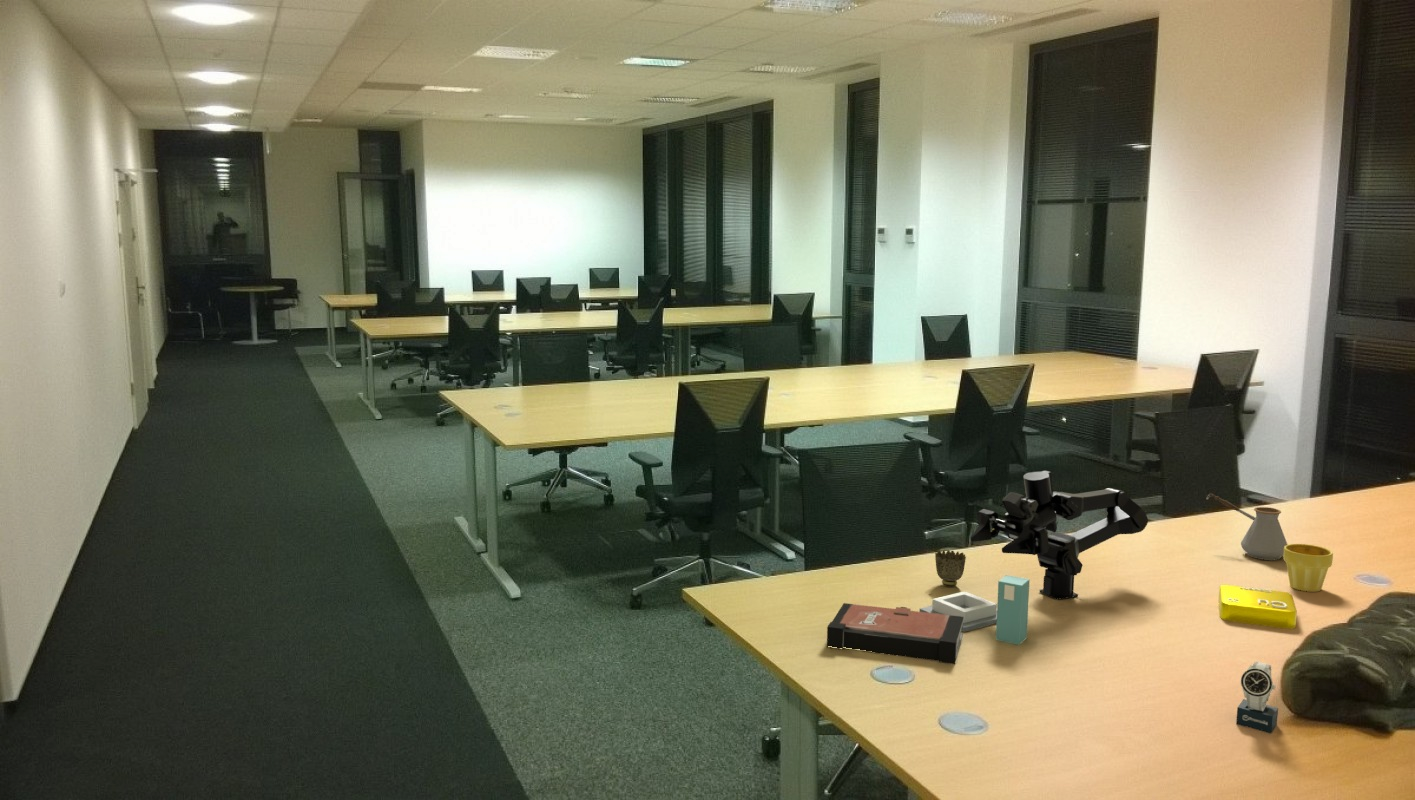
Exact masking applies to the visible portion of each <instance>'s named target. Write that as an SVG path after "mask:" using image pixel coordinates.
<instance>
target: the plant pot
mask: <svg viewBox="0 0 1415 800" xmlns="http://www.w3.org/2000/svg"><path fill="white" fill-rule="evenodd" d="M1333 559H1334V553H1333V551H1332V550H1331V549H1330V548H1327V547H1323V546H1319V545H1314V544H1308V543H1290V544H1288V545H1286V546H1285V547H1284V556H1283V561H1284V562H1285V563H1286V568H1287V569H1286V570H1287V575H1288V580H1289V586H1290V587H1291V588H1292V589H1293V590H1296V591H1300V590H1301V592H1306V591H1307V592H1308V593H1313V592H1314V593H1315V592H1317V593H1318V592H1319V591H1321V590H1322V588H1323V585H1324V584H1325V583H1324V582H1325V579H1326V576H1327V573H1328V571H1329V568H1331V567H1332V566H1333ZM1307 592H1306V593H1307Z"/></svg>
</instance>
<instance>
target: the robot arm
mask: <svg viewBox="0 0 1415 800" xmlns="http://www.w3.org/2000/svg"><path fill="white" fill-rule="evenodd" d="M1052 477H1053V476H1052V472H1051V471H1049V470H1042V471H1032V472H1026V473H1025V474H1024V475H1023V484H1024V489H1025V495H1023V494H1020V493H1017V492H1013V491H1010V492H1008V494H1007V495H1005V497H1004V498H1003V499H1002V500H1001V504H1002V505H1003V506H1004V508H1005V510H1006V513H1004V514H1003V515H1004V519H1005V520H1001V519H999V515H998V513H997V512H995V511H993V510H988V509H986V508H982V509H980V510H978V512H977V513H976V515H977V525H978V527H977V528H976V529H975V531H974V532H973V534H971V536H970V542H973V543H977V542H984V541H991V540H993V538H996V537H998V535H999V533H1000V532H1003V533H1006V534H1007V538H1008V539H1010V540H1011V541H1010V542H1009V543H1007V544H1005V545H1004V546H1003V547H1002V548H1001V553H1003V554H1016V555H1017V554H1018V555H1019V554H1021V555H1032V556H1035V555H1036V557H1037V560H1038V564H1039V567H1041V568H1045V570H1044V576H1043V586H1042V588H1041V589H1039V593H1041V594H1044V595H1046V596H1048V597H1049V598H1052V599H1055V600H1058V601H1059V600H1066V599H1070V598H1071V599H1072V598H1076V597H1078V596H1079V594H1078V593H1076V592H1075V591H1074V590H1075V589H1074V587H1075V576H1078V574H1080V573H1081V572H1082V568H1083V567H1084V566H1083V563H1082V561H1080V559H1079V556H1080V554H1082V553H1083V552H1085V551H1087V550H1089V549H1091V548H1093V547H1095V546H1097V545H1099V544H1101V543H1104V542H1106V541H1108V540H1110V539H1112V538H1114V537H1117V536H1118V535H1133V534H1138V533H1142V531H1144V530H1145V529H1146V527H1147V525H1148V523H1149V518H1148V516H1147V513H1146V511H1145V510H1144V509H1142V508H1141V506H1140V505H1139V504H1138V503H1136V502H1135V501H1133V499H1131V498H1130V497H1129V496H1128V494H1127V492H1125V491H1123V490H1121V489H1116V488H1112V487H1108V488H1107V487H1106V488H1105V489H1101V490H1100V489H1099V490H1093V491H1085V492H1079V493H1069V492H1063V491H1054V487H1053V482H1052V481H1053V480H1052ZM1103 509H1104V511H1105V512H1106V516H1105V518H1103V519H1101V520H1099V521H1096V522H1094V523H1092V524H1090V525H1088V526H1086V527H1084V528H1082V529H1079V530H1077V531H1075V532H1073V533H1071V534H1067V533H1063V532H1059V531H1057V530H1058V523H1059V522H1058V519H1057V518H1060V519H1063V520H1067V521H1072V520H1075V519H1077V518H1080V517H1081V516H1082V515H1083V513H1086V512H1089V511H1095V510H1103ZM1049 532H1052V533H1050V534H1049V535H1048V533H1049Z"/></svg>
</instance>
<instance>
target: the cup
mask: <svg viewBox="0 0 1415 800" xmlns="http://www.w3.org/2000/svg"><path fill="white" fill-rule="evenodd" d="M934 555H935V558H934V560H935V569H936V574H937V576H938V577H939V578H940V579H941V584H942V585H943V586H944V587H947V588H955V587H956V586H957V585H958V581H959V580H960V579H961V578H962V577H963V574H964V571H965V566H966V559H967V556H966V554H964V552H960V551H956V553H955V552H954V550H947V551H945V550H942V551H940V550H938V551H936V552H935V553H934Z"/></svg>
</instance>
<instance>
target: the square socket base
mask: <svg viewBox="0 0 1415 800" xmlns="http://www.w3.org/2000/svg"><path fill="white" fill-rule="evenodd" d="M918 612H926V613H935V614H944V615H952V616H961V617H964V621H963V624H962V628H961V632H963V633H965V632H970V631H973V630H977V629H981V628H985V627H988V626H989V627H990V626H993V625H997V603H995V602H993V601H990V600H988V599H985V598H983V597H980V596H978V595H975V594H972V593H970V592H967V591H960V592H956V593H952V594H949V595H948V594H947V595H944V596H941V597H936V598H932V603H931V605H928V606H923V607H920V608H919V611H918Z"/></svg>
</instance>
